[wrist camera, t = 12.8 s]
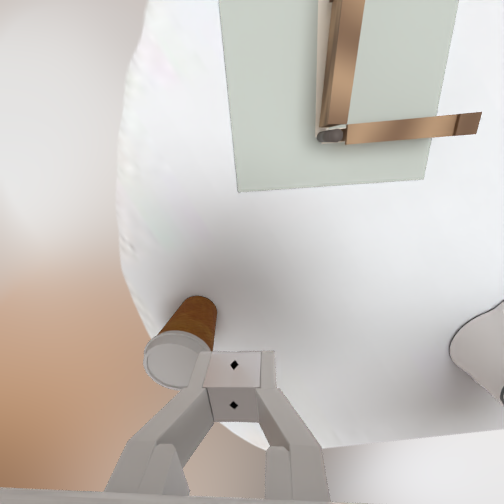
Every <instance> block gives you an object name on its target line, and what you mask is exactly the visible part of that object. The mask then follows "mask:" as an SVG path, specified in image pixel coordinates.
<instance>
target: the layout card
mask: <svg viewBox="0 0 504 504" xmlns="http://www.w3.org/2000/svg"><path fill="white" fill-rule="evenodd" d="M458 3H459V0H365V5H364V12H363V19H362V26H361V33H360V40H359V46H358V53H357V60H356V67H355V74H354V80H353V87H352V94H351V101H350V108H349V114H348V121H347V124H358V123H369V122H380V121H391V120H402V119H413V118H424V117H434V116H436V114H437V109H438V104H439V99H440V94H441V89H442V84H443V79H444V74H445V69H446V64H447V58H448V53H449V48H450V43H451V38H452V33H453V28H454V23H455V18H456V13H457V8H458ZM219 8H220V17H221V27H222V37H223V47H224V57H225V67H226V77H227V86H228V96H229V106H230V116H231V126H232V136H233V145H234V155H235V165H236V175H237V185H238V192H249V191H263V190H277V189H292V188H306V187H321V186H335V185H349V184H364V183H378V182H393V181H407V180H421V179H424V175H425V170H426V165H427V160H428V155H429V150H430V145H431V140H432V138H420V139H408V140H396V141H384V142H372V143H360V144H348V145H345V141H339V142H319V141H318V140H317V135H318V133H319V132H322V131H327V130H332V129H344V128H346V125H347V124H342V125H338V126H333V127H319V123H320V114H321V104H322V95H323V85H324V76H325V66H326V57H327V47H328V38H329V28H330V19H331V10H332V3H329V0H219Z"/></svg>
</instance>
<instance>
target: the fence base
mask: <svg viewBox="0 0 504 504" xmlns="http://www.w3.org/2000/svg"><path fill="white" fill-rule="evenodd" d="M481 114H482V112H477V113H466V114H456V115H445V116H434V117H424V118H413V119H402V120H391V121H380V122H369V123H358V124H347V125H346V128H344V129H332V130H327V131H322V132H319V133H318V135H317V140H318V141H319V142H339V141H345V145H348V144H360V143H372V142H384V141H396V140H408V139H420V138H432V137H444V136H457V135H469V134H476V133H477V129H478V125H479V121H480V118H481Z"/></svg>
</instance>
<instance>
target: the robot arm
mask: <svg viewBox="0 0 504 504" xmlns="http://www.w3.org/2000/svg"><path fill="white" fill-rule="evenodd" d="M450 356H451V359H452V361H453V362H454V363H455V364H456V365H457V366H458V367H459V368H461V369H462V370H463V371H465V372H466V373H467V374H469V375H470V376H471V377H472V378H473V380H474V381H475V382H476V383H478V384H479V385H481V386H482V387H483V388H484V389H486V390H487V391H488V392H489V393H490V394H491V395H492V396H493V397H494V398H495V399H496V400H497V401H498V402H499V403H500V404H501V405H503V406H504V301H503V302H502V303H501V304H500V305H498V306H497V307H496V308H495V309H493V310H491V311H489V312H487V313H485V314H482V315H480V316H478V317H476V318H475V319H473V320H471V321H470V322H468V323H467V324H466V325H465V326H463V327H462V328H461V329H460V330H459V331H458V333H457V334H456V335H455V337H454V338H453V340H452V343H451V346H450ZM214 422H257V423H259V424H260V426H261V428H262V430H263V432H264V434H265V436H266V438H267V440H268V443H269V445H270V447H269V448H268V449H267V451H266V471H265V472H266V473H265V499H252V498H230V497H229V498H228V497H206V496H189V492H190V490H189V487H188V484H187V481H186V478H185V475H184V472H183V467H184V466H185V464H186V463H187V461H188V460H189V459H190V457H191V456H192V454H193V453H194V451H195V450H196V449H197V447H198V446H199V444H200V443H201V441H202V440H203V439H204V437H205V436H206V434H207V433H208V431H209V430H210V428H211V427H212V426H213V424H214ZM0 504H366V503H344V502H331V501H330V495H329V489H328V483H327V477H326V472H325V466H324V461H323V455H322V448H321V446H320V444H319V443H318V441H317V440H316V439H315V437H314V436H313V434H312V433H311V432H310V430H309V429H308V427H307V426H306V425H305V423H304V422H303V420H302V419H301V417H300V416H299V415H298V413H297V412H296V410H295V409H294V408H293V406H292V405H291V403H290V402H289V401H288V399H287V398H286V396H285V395H284V394H283V392H282V391H281V389H280V388H277V383H276V365H275V351H237V352H227V351H213V352H212V351H201V352H200V353H199V355H198V358H197V361H196V364H195V367H194V370H193V372H192V375H191V378H190V381H189V384H188V387H187V388H183V389H182V390H181V391H180V392H179V393H178V394H177V395H176V396H175V397H174V398H173V399H172V400H170V401H169V402H168V403H167V404H166V405H165V406H164V407H163V408H162V409H161V410H160V411H159V412H158V413H157V414H156V415H155V416H154V417H153V418H152V419H151V420H149V421H148V422H147V423H146V424H145V425H144V426H143V427H142V428H141V429H140V430H139V431H138V432H137V433H136V434H135V435H134V436H133V437H132V438H131V439H130V440H129V441H128V442H127V444H126V446H125V448H124V450H123V452H122V454H121V456H120V459H119V461H118V463H117V465H116V467H115V469H114V471H113V473H112V475H111V477H110V480H109V481H108V484H107V486H106V488H105V490H104V492H92V491H69V490H68V491H67V490H44V489H23V488H1V487H0Z"/></svg>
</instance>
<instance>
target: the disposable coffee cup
mask: <svg viewBox="0 0 504 504" xmlns="http://www.w3.org/2000/svg"><path fill="white" fill-rule="evenodd" d="M216 318H217V309H216V306H215V305H214V303H213V302H212V301H210V300H209V299H207V298H205V297H202V296H192V297H189V298H187V299H186V300H185V301H184V302H183V303H182V305H181V306H180V307H179V308H178V310H177V311H176V312H175V313H174V315H173V316H172V317H171V319H170V320H169V321H168V322H167V324H166V325H165V326H164V327H163V329H162V330H161V331H160V332H159V334H158V335H157V336H155V337H154V338H152V339H151V340H150V341H149V342H148V344H147V345H146V347H145V350H144V360H143V364H144V368H145V371H146V373H147V374H148V375H149V376H150V378H151V379H152V380H153V381H155V382H156V383H158V384H159V385H161V386H163V387H166V388H169V389H173V390H180V391H181V390H182V389H183V388H187V387H188V384H189V381H190V378H191V375H192V372H193V370H194V367H195V364H196V361H197V358H198V355H199V353H200V352H201V351H212V352H213V344H214V335H215V326H216Z"/></svg>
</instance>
